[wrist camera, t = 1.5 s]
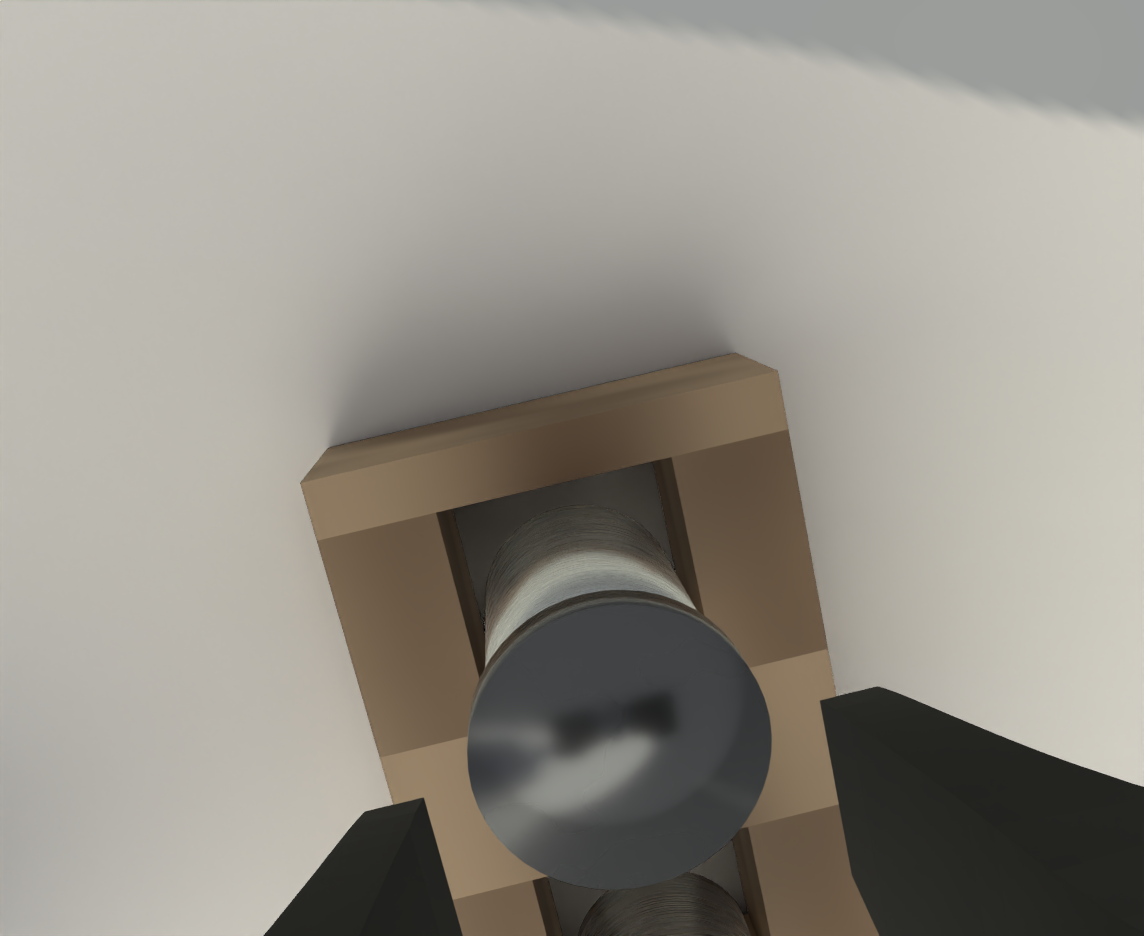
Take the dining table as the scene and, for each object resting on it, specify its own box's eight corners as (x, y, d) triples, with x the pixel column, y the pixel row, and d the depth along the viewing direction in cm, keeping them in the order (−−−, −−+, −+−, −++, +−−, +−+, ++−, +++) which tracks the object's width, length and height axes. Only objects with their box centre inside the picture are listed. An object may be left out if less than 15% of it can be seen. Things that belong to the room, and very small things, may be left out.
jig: (559, 1272, 24) (569, 1412, 21) (328, 447, 20) (299, 482, 17) (892, 1186, 25) (947, 1313, 22) (735, 352, 20) (777, 371, 17)
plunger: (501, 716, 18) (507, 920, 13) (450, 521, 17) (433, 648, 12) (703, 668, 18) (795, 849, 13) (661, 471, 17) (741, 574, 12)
